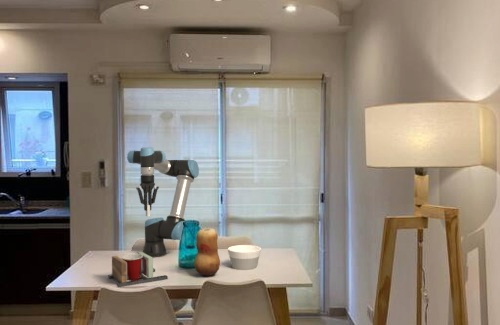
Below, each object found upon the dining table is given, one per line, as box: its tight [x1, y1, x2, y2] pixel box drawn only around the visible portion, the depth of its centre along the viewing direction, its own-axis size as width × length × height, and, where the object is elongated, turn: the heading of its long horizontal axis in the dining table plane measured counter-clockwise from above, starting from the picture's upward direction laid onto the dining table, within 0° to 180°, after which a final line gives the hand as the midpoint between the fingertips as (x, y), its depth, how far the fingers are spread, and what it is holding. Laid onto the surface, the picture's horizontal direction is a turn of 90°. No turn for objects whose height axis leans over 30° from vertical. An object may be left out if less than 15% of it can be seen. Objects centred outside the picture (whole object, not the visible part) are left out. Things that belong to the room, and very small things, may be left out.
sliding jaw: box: [137, 251, 154, 278], centre depth 247 cm, size 3×16×10 cm, turn 33°
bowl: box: [227, 244, 262, 271], centre depth 268 cm, size 19×19×11 cm
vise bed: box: [107, 255, 169, 288], centre depth 245 cm, size 25×19×12 cm
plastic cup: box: [121, 253, 143, 281], centre depth 244 cm, size 11×11×12 cm
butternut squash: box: [193, 227, 221, 277], centre depth 250 cm, size 14×13×25 cm
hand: (147, 216), depth 267 cm, fingers closed
